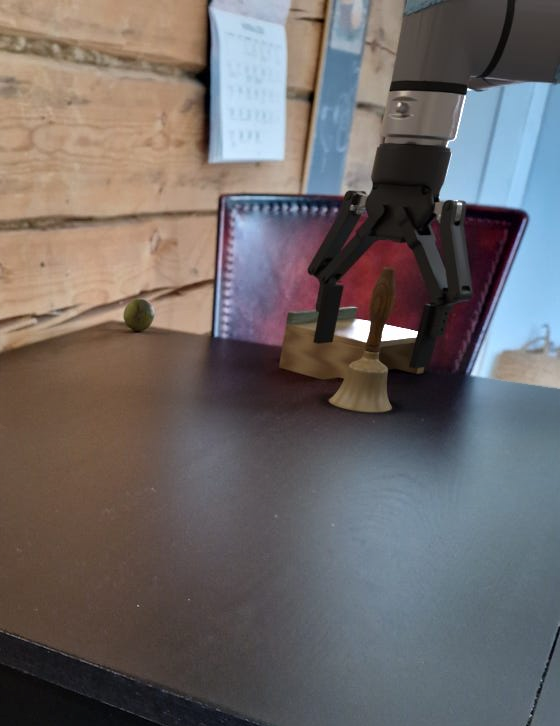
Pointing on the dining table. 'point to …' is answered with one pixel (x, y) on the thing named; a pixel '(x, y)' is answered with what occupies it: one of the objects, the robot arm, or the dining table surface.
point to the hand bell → (370, 356)
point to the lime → (138, 315)
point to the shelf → (341, 345)
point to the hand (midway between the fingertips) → (368, 354)
